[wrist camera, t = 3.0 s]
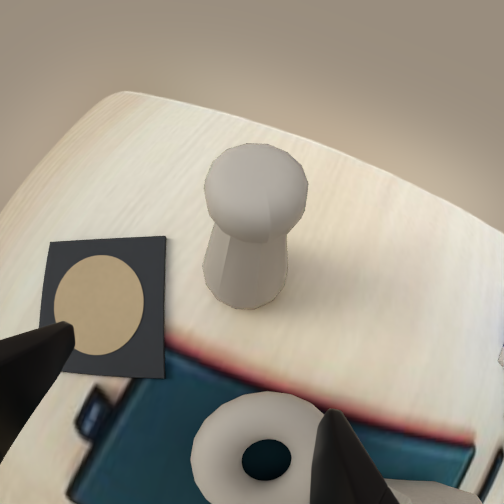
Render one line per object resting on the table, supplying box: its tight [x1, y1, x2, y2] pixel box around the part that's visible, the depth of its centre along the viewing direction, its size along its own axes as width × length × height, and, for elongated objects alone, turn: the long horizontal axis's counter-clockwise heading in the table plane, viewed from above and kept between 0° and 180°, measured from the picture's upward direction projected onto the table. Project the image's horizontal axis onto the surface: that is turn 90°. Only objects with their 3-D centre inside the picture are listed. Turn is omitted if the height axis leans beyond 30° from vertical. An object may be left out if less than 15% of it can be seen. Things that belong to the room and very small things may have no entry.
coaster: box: [39, 236, 166, 378], centre depth 22 cm, size 11×11×1 cm
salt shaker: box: [202, 143, 308, 309], centre depth 18 cm, size 6×6×13 cm
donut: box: [191, 391, 324, 504], centre depth 17 cm, size 10×4×10 cm
